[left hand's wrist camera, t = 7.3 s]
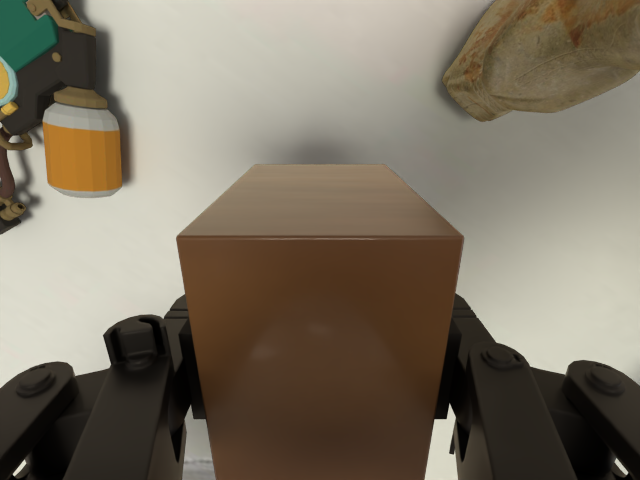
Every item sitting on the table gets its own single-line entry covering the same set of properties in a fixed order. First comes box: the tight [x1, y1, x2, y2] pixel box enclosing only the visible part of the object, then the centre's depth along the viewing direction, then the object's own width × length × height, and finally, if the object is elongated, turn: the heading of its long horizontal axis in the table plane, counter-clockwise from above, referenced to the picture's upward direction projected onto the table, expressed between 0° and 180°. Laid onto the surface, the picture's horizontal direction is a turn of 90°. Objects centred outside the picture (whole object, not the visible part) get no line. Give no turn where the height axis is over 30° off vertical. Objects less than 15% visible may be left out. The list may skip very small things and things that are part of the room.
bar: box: [176, 164, 464, 480], centre depth 14 cm, size 23×5×8 cm, turn 0°
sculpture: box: [442, 0, 640, 122], centre depth 16 cm, size 6×7×15 cm
